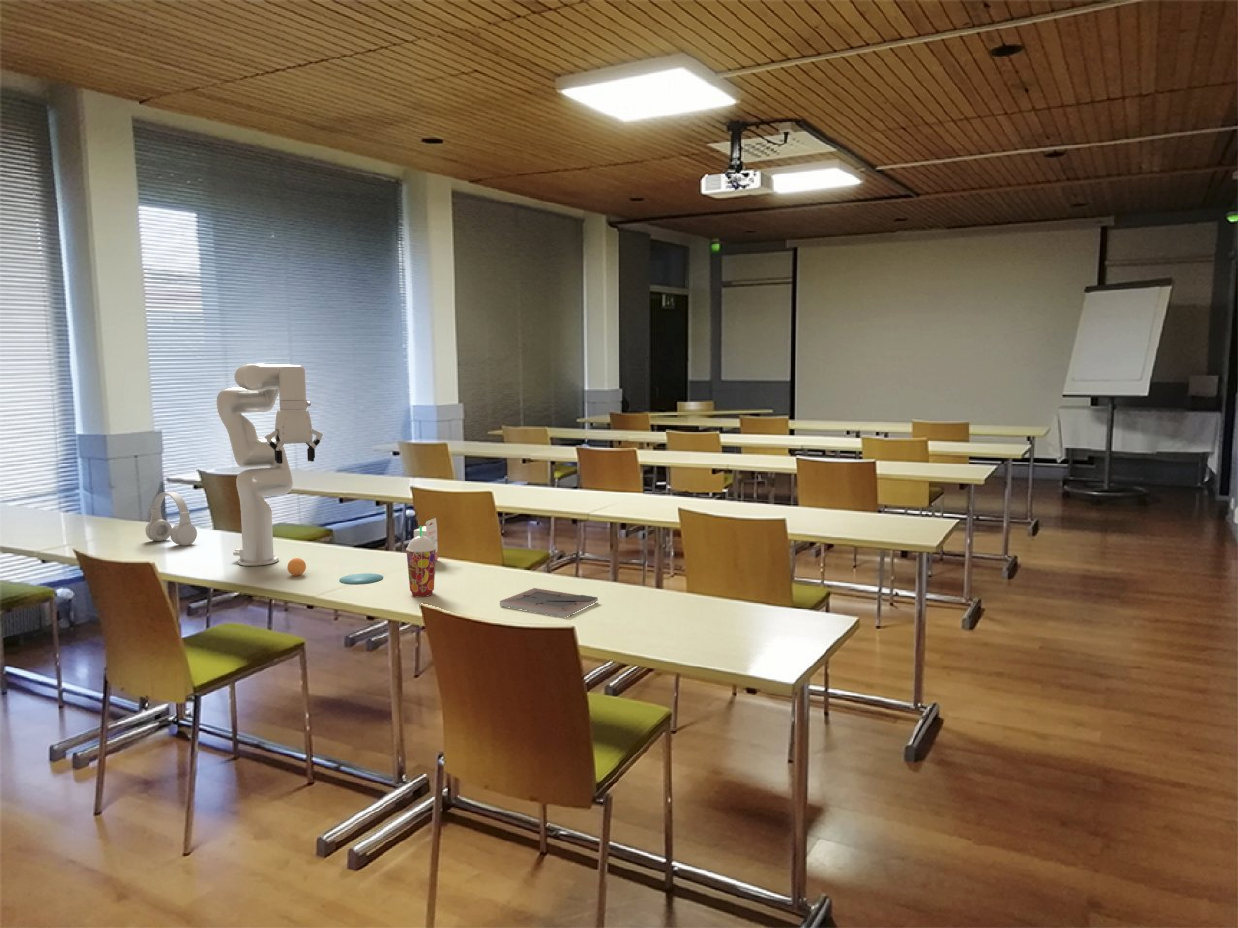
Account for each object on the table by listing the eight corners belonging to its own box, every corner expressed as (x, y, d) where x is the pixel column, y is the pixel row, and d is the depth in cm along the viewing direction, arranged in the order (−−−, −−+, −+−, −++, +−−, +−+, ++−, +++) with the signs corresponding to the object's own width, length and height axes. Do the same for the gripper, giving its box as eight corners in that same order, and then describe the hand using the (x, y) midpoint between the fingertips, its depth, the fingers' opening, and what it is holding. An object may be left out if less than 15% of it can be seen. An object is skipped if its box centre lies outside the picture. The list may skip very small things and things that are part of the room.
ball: (284, 577, 264) (283, 559, 264) (294, 572, 270) (293, 556, 269) (300, 577, 263) (299, 560, 263) (309, 573, 269) (309, 556, 268)
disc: (331, 582, 257) (331, 582, 257) (352, 573, 270) (352, 572, 270) (370, 585, 255) (370, 584, 255) (390, 575, 267) (390, 574, 267)
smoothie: (405, 592, 247) (403, 524, 245) (433, 589, 250) (432, 522, 248) (409, 599, 239) (408, 529, 237) (439, 596, 243) (438, 527, 240)
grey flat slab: (597, 605, 236) (534, 595, 247) (597, 597, 236) (534, 587, 247) (565, 620, 222) (499, 609, 233) (565, 611, 222) (499, 600, 232)
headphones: (144, 542, 317) (141, 491, 315) (166, 538, 324) (163, 488, 322) (177, 548, 307) (174, 495, 305) (198, 544, 315) (196, 492, 312)
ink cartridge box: (424, 559, 291) (423, 517, 289) (438, 559, 290) (437, 517, 288) (413, 564, 282) (412, 521, 281) (427, 565, 281) (426, 521, 280)
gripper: (315, 405, 264) (317, 459, 266) (259, 406, 253) (261, 463, 255) (326, 405, 259) (327, 461, 261) (268, 407, 247) (271, 465, 249)
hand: (295, 462), depth 258 cm, fingers open, 9 cm apart
